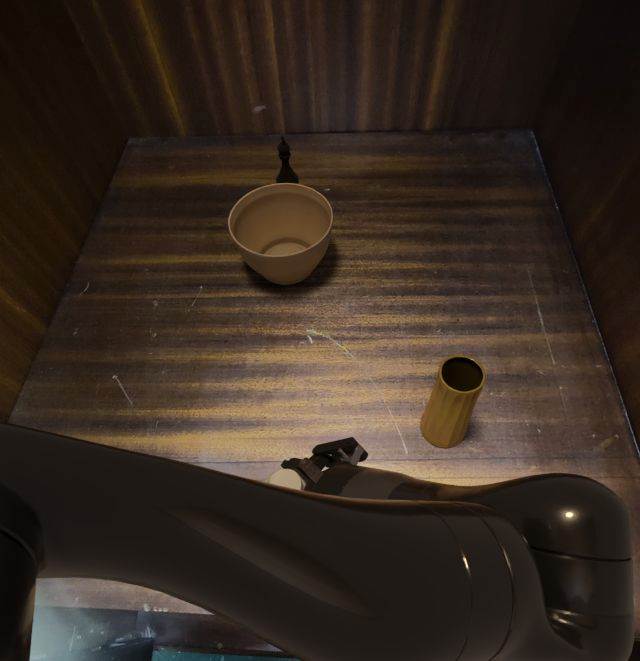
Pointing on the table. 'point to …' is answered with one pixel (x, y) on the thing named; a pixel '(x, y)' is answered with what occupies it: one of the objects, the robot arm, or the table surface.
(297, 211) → the planter bowl
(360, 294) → the table surface
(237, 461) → the table surface
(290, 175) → the chess piece
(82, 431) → the table surface
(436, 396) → the vase
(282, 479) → the pill bottle
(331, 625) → the robot arm
